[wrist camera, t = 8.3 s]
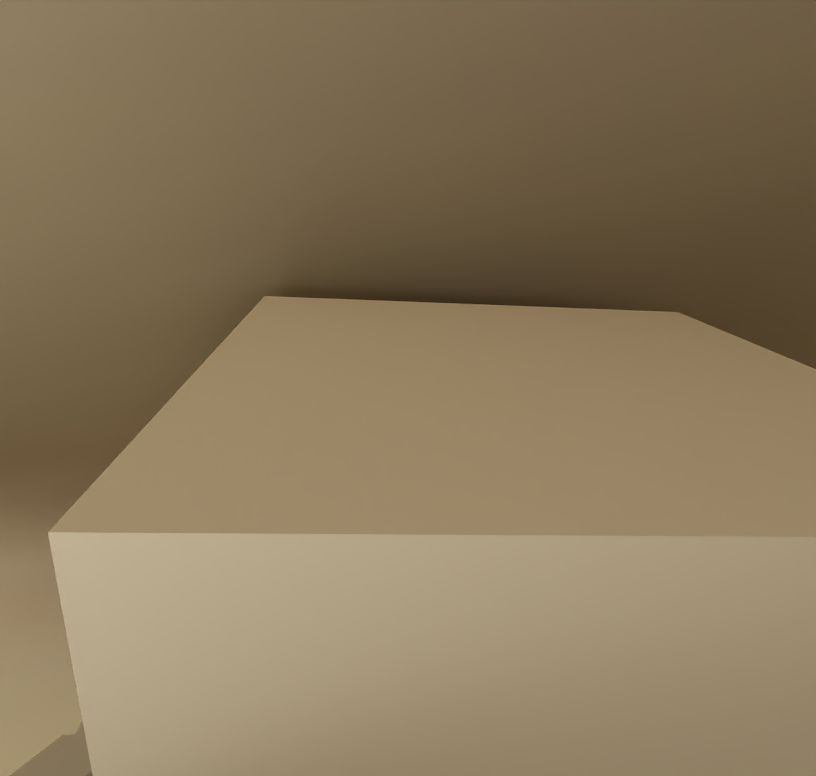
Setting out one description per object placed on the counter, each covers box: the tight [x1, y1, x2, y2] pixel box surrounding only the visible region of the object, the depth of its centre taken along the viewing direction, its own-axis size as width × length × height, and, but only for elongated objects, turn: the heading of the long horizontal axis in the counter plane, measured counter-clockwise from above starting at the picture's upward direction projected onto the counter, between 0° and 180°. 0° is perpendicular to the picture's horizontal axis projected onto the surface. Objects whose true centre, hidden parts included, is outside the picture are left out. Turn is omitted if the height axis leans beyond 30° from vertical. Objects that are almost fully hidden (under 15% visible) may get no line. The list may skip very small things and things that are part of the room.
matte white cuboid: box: [48, 296, 816, 776], centre depth 8 cm, size 7×10×7 cm
